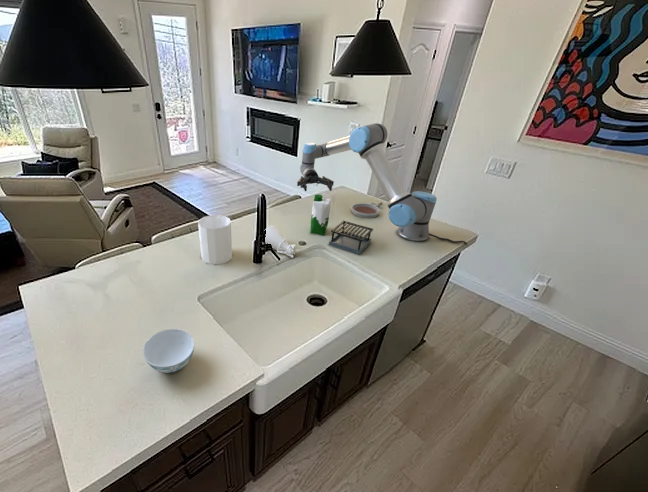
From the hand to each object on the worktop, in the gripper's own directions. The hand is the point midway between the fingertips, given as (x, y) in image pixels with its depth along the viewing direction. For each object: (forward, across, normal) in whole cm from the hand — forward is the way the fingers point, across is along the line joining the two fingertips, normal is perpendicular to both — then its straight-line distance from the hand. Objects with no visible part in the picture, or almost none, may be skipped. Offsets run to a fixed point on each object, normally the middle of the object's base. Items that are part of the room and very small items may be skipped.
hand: (318, 188), depth 174 cm
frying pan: (-17, -38, -21) cm, 47 cm away
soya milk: (+10, 0, -21) cm, 23 cm away
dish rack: (+24, -13, -20) cm, 34 cm away
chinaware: (+96, +66, -20) cm, 118 cm away
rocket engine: (+30, +24, -21) cm, 44 cm away
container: (+32, +54, -21) cm, 66 cm away
